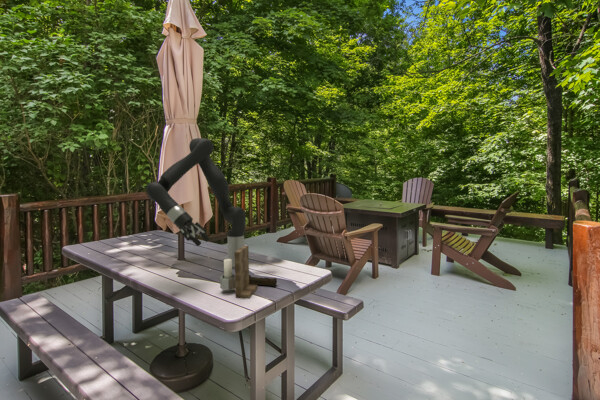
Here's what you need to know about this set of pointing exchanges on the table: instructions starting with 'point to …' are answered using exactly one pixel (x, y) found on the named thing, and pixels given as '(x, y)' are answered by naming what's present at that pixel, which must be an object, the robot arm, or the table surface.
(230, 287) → the metal cup
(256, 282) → the hand tool
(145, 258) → the table surface
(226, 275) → the cream white cylinder
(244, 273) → the wooden bookend
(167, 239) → the table surface
